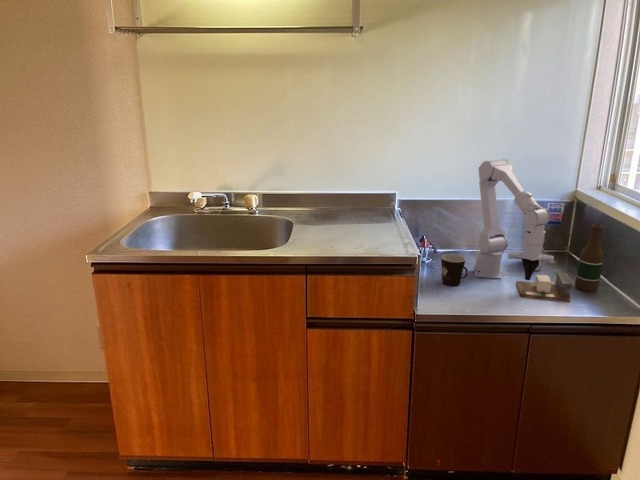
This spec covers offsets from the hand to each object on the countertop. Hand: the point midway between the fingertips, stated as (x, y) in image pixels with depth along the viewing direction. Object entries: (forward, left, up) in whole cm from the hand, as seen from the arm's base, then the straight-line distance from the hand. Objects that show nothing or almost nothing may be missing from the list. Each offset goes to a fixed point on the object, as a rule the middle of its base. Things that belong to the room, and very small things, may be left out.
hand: (527, 279), depth 173 cm
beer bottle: (+22, +9, -5) cm, 24 cm away
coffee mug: (-25, 0, -5) cm, 26 cm away
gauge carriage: (+6, -1, -3) cm, 7 cm away
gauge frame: (+6, +1, -5) cm, 7 cm away
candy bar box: (+6, +28, -5) cm, 29 cm away
